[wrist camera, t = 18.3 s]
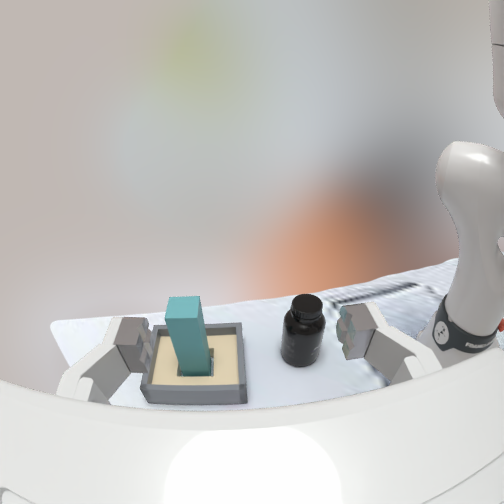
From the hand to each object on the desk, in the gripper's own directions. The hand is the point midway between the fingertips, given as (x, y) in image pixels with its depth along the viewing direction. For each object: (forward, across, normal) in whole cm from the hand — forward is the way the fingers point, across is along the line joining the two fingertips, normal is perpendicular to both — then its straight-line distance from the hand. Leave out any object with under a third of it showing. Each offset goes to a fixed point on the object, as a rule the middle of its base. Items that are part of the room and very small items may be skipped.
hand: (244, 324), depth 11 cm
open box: (+21, +8, +32) cm, 39 cm away
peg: (+21, +8, +32) cm, 39 cm away
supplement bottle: (+23, -10, +32) cm, 41 cm away
